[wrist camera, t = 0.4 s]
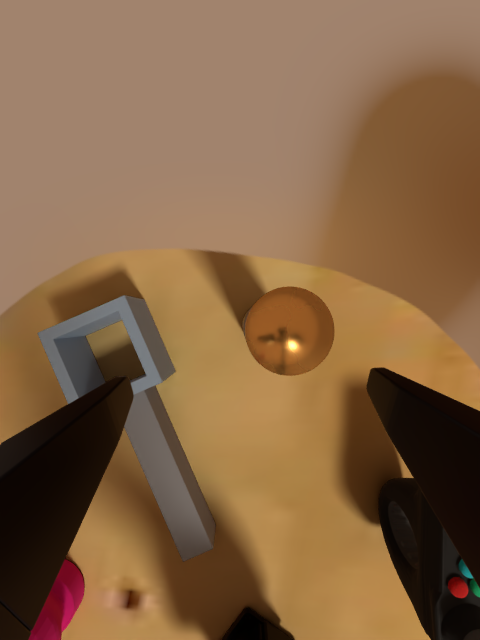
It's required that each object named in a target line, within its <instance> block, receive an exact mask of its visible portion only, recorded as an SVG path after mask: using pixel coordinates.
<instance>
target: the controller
mask: <svg viewBox="0 0 480 640" xmlns="http://www.w3.org/2000/svg"><path fill="white" fill-rule="evenodd" d="M379 516H380V523H381V528H382V532H383V536H384V539H385V543H386V545H387V548H388V551H389V554H390V557H391V560H392V562H393V565H394V567H395V569H396V571H397V574H398V576H399V578H400V580H401V582H402V584H403V586H404V588H405V590H406V592H407V594H408V596H409V598H410V600H411V602H412V604H413V606H414V609H415V611H416V613H417V616H418V618H419V620H420V622H421V625H422V627H423V628H424V630H425V632H426V634H427V635H429V637H430V639H431V640H480V588H479V586H478V585H477V583H476V581H475V580H474V578H473V576H472V575H471V573H470V571H469V570H468V568H467V566H466V565H465V563H464V561H463V560H462V558H461V556H460V555H459V553H458V551H457V549H456V548H455V546H454V544H453V543H452V541H451V539H450V538H449V536H448V534H447V533H446V531H445V529H444V528H443V526H442V524H441V523H440V521H439V519H438V518H437V516H436V514H435V513H434V511H433V509H432V508H431V506H430V504H429V503H428V501H427V499H426V498H425V496H424V494H423V492H422V491H421V489H420V487H419V486H418V484H417V482H416V481H415V479H414V478H397V479H392V480H389V481H388V482H387V483H386V484H385V485H384V486H383V488H382V490H381V493H380V497H379Z"/></svg>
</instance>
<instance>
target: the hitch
mask: <svg viewBox="0 0 480 640" xmlns="http://www.w3.org/2000/svg"><path fill="white" fill-rule="evenodd" d="M121 320H123V323H124V325H125V327H126V330H127V332H128V334H129V336H130V339H131V341H132V343H133V346H134V348H135V350H136V352H137V355H138V357H139V359H140V362H141V364H142V366H143V369H144V371H145V373H146V374H144V375H142V376H139V377H137V378H135V379H133V380H130V382H131V386H132V390H133V394H134V398H133V402H132V405H131V408H130V411H129V414H128V417H127V420H126V422H125V425H124V428H125V430H126V432H127V434H128V437H129V439H130V441H131V444H132V446H133V448H134V451H135V453H136V455H137V457H138V460H139V462H140V464H141V467H142V469H143V471H144V473H145V476H146V478H147V480H148V483H149V485H150V487H151V490H152V492H153V494H154V496H155V499H156V501H157V503H158V506H159V508H160V510H161V512H162V515H163V517H164V519H165V522H166V524H167V526H168V529H169V531H170V533H171V535H172V538H173V540H174V542H175V545H176V547H177V549H178V551H179V554H180V556H181V558H182V561H183V562H184V561H186V560H188V559H191V558H193V557H195V556H198V555H200V554H202V553H204V552H207V551H209V550H211V549H213V546H214V537H215V528H216V524H215V522H214V520H213V517H212V515H211V513H210V510H209V508H208V506H207V504H206V501H205V499H204V497H203V494H202V492H201V490H200V487H199V485H198V483H197V481H196V478H195V476H194V474H193V471H192V469H191V467H190V465H189V462H188V460H187V458H186V455H185V453H184V451H183V448H182V446H181V444H180V442H179V439H178V437H177V435H176V432H175V430H174V428H173V426H172V423H171V421H170V419H169V416H168V414H167V412H166V409H165V407H164V405H163V403H162V400H161V398H160V396H159V393H158V391H157V389H156V386H155V385H157V384H159V383H162V382H163V381H164V380H166V379H167V378H168V377H169V376H171V375H172V374H173V373H174V372H176V371H175V369H174V366H173V364H172V362H171V359H170V357H169V355H168V353H167V350H166V348H165V346H164V343H163V341H162V339H161V337H160V334H159V332H158V330H157V327H156V325H155V323H154V320H153V318H152V316H151V314H150V311H149V309H148V307H147V304H146V302H145V300H144V299H140V298H135V297H131V296H126V295H124V296H121V297H119V298H117V299H115V300H112V301H110V302H108V303H105V304H103V305H101V306H98V307H96V308H94V309H92V310H89V311H87V312H85V313H82V314H80V315H78V316H75V317H73V318H71V319H69V320H66V321H64V322H62V323H59V324H57V325H55V326H52V327H50V328H48V329H46V330H43V331H41V332H39V333H38V336H39V338H40V340H41V343H42V345H43V347H44V349H45V352H46V354H47V356H48V359H49V361H50V363H51V365H52V368H53V370H54V372H55V375H56V377H57V379H58V381H59V384H60V386H61V388H62V391H63V393H64V395H65V398H66V400H67V402H68V404H69V403H71V402H73V401H75V400H76V399H78V398H80V397H81V396H83V395H85V394H87V393H88V392H90V391H92V390H93V389H95V388H97V387H99V386H100V385H102V384H104V383H105V380H104V378H103V375H102V373H101V371H100V369H99V366H98V364H97V362H96V359H95V357H94V355H93V353H92V350H91V348H90V346H89V343H88V341H87V339H86V335H88V334H91V333H93V332H95V331H98V330H100V329H102V328H104V327H107V326H109V325H111V324H114V323H116V322H118V321H121Z"/></svg>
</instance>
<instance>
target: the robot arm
mask: <svg viewBox="0 0 480 640" xmlns="http://www.w3.org/2000/svg"><path fill="white" fill-rule="evenodd" d="M367 392H368V394H369V396H370V399H371V401H372V403H373V405H374V407H375V409H376V411H377V413H378V416H379V418H380V420H381V422H382V424H383V426H384V428H385V430H386V432H387V434H388V435H389V437H390V439H391V441H392V442H393V444H394V446H395V447H396V449H397V451H398V452H399V454H400V456H401V457H402V459H403V461H404V462H405V464H406V466H407V467H408V469H409V471H410V472H411V474H412V476H413V477H414V479H415V481H416V482H417V484H418V486H419V487H420V489H421V491H422V492H423V494H424V496H425V498H426V499H427V501H428V503H429V504H430V506H431V508H432V509H433V511H434V513H435V514H436V516H437V518H438V519H439V521H440V523H441V524H442V526H443V528H444V529H445V531H446V533H447V534H448V536H449V538H450V539H451V541H452V543H453V544H454V546H455V548H456V549H457V551H458V553H459V555H460V556H461V558H462V560H463V561H464V563H465V565H466V566H467V568H468V570H469V571H470V573H471V575H472V576H473V578H474V580H475V581H476V583H477V585H478V586H479V588H480V411H478V410H476V409H474V408H472V407H470V406H467V405H465V404H463V403H461V402H459V401H456V400H454V399H452V398H450V397H448V396H445V395H443V394H441V393H439V392H437V391H434V390H432V389H430V388H428V387H426V386H423V385H421V384H419V383H417V382H415V381H412V380H410V379H408V378H406V377H404V376H401V375H399V374H397V373H395V372H393V371H390V370H388V369H386V368H372V369H371V370H370V373H369V378H368V382H367ZM133 398H134V394H133V390H132V386H131V382H130V379H129V377H127V376H116V377H114V378H112V379H111V380H109V381H107V382H105V383H104V384H102V385H100V386H99V387H97V388H95V389H93V390H92V391H90V392H88V393H87V394H85V395H83V396H81V397H80V398H78V399H76V400H75V401H73V402H71V403H69V404H68V405H66V406H64V407H62V408H61V409H59V410H57V411H56V412H54V413H52V414H50V415H49V416H47V417H45V418H44V419H42V420H40V421H38V422H37V423H35V424H33V425H32V426H30V427H28V428H26V429H25V430H23V431H21V432H19V433H18V434H16V435H14V436H13V437H11V438H9V439H7V440H6V441H4V442H2V443H1V445H0V640H29V637H30V635H31V631H32V630H33V628H34V626H35V624H36V622H37V619H38V617H39V615H40V613H41V611H42V608H43V606H44V604H45V602H46V600H47V597H48V595H49V593H50V591H51V589H52V587H53V584H54V582H55V580H56V578H57V576H58V573H59V571H60V569H61V567H62V565H63V562H64V560H65V558H66V556H67V554H68V552H69V549H70V547H71V545H72V543H73V541H74V538H75V536H76V534H77V532H78V530H79V527H80V525H81V523H82V521H83V519H84V517H85V514H86V512H87V510H88V508H89V506H90V503H91V501H92V499H93V497H94V495H95V492H96V490H97V488H98V486H99V484H100V482H101V479H102V477H103V475H104V473H105V471H106V468H107V466H108V464H109V462H110V460H111V457H112V455H113V453H114V451H115V449H116V446H117V444H118V442H119V440H120V437H121V434H122V431H123V428H124V425H125V422H126V420H127V417H128V414H129V411H130V408H131V405H132V402H133ZM222 640H293V639H291V638H290V637H289V636H287V635H286V634H284V633H283V632H282V631H280V630H279V629H278V628H276V627H275V626H274V625H272V624H271V623H270V622H268V621H267V620H266V619H264V618H263V617H261V616H260V615H259V614H257V613H256V612H255V611H253V610H252V609H250V608H245V609H244V610H243V612H242V613H241V614H240V616H239V617H238V618H237V620H236V621H235V622H234V624H233V625H232V626H231V628H230V629H229V630H228V632H227V633H226V635H225V636H224V637H223V639H222Z"/></svg>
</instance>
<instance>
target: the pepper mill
mask: <svg viewBox="0 0 480 640" xmlns="http://www.w3.org/2000/svg"><path fill="white" fill-rule="evenodd" d="M84 587H85V586H84V581H83V576H82V574H81V572H80V571H79V569H78V568H77V567H76V566H75V565H74V564H73V563H71V562H70V561H68V560H66V559H65V560H64V562H63V565H62V567H61V569H60V571H59V573H58V576H57V578H56V580H55V582H54V584H53V587H52V589H51V591H50V593H49V595H48V597H47V600H46V602H45V604H44V606H43V608H42V611H41V613H40V615H39V617H38V619H37V622H36V624H35V626H34V628H33V630H32V631H31V635H30V637H29V640H61V634H62V631H64V630H65V629H66V627H67V626H68V624H69V623H70V621H71V620H72V618H73V616H74V614H75V612H76V611H77V609H78V607H79V605H80V603H81V601H82V599H83V595H84Z"/></svg>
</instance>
